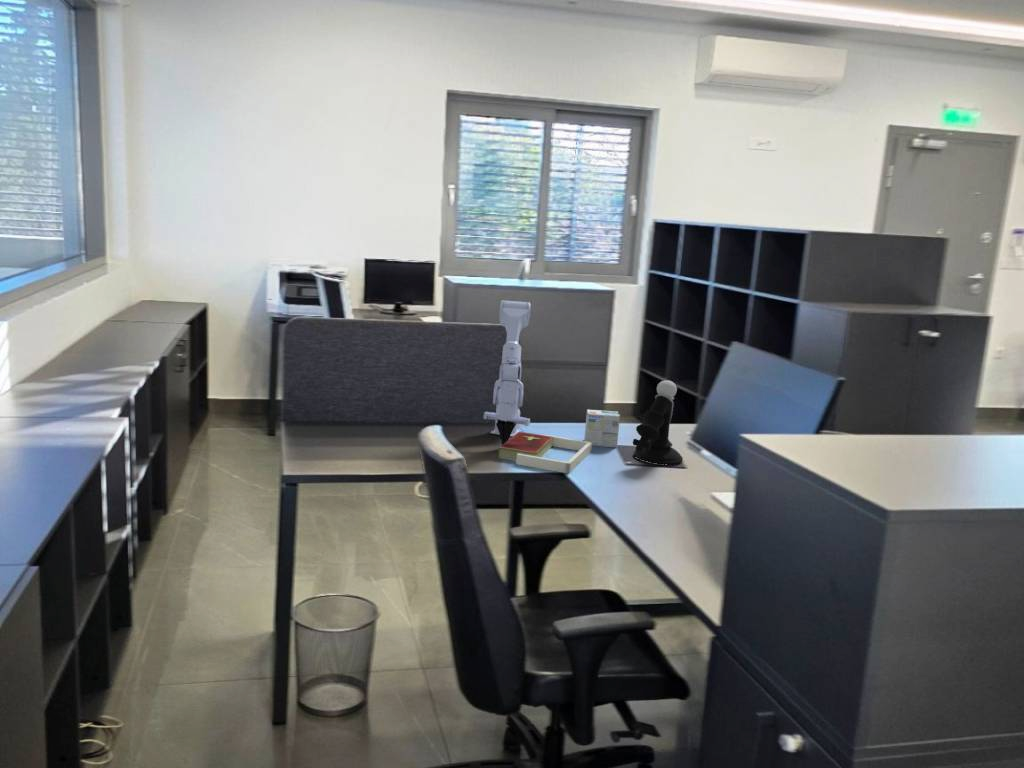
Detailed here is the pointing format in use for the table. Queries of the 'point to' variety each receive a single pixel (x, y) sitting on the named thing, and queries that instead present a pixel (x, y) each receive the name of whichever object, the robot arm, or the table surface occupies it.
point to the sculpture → (658, 429)
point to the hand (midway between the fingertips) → (504, 444)
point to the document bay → (557, 465)
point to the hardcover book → (525, 445)
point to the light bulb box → (602, 428)
